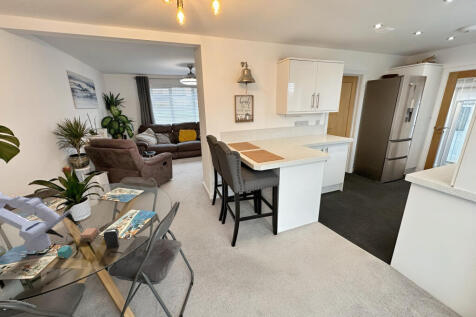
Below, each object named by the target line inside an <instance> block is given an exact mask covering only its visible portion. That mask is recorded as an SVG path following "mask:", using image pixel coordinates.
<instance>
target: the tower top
mask: <svg viewBox="0 0 476 317" xmlns="http://www.w3.org/2000/svg"><path fill="white" fill-rule="evenodd" d="M97 231H98V228H97V227H92V228H85V229H84V231H83V232H82V233H81V234H80V235H79V237H80V238H92V237H93V236H94V235H95V233H96V232H97Z"/></svg>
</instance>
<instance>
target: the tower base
mask: <svg viewBox="0 0 476 317" xmlns="http://www.w3.org/2000/svg"><path fill="white" fill-rule="evenodd" d="M98 233H99V234H100V231H99V230H97V232H96V233H95V235H94V236H93V237H92V238H81V237H80V238H79V239H78V240H79V242H80V243H83V242H84V243H85V242H94V240H95V239H96V238H97V236H98V235H99V234H98Z"/></svg>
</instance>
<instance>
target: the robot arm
mask: <svg viewBox="0 0 476 317" xmlns="http://www.w3.org/2000/svg"><path fill="white" fill-rule="evenodd" d="M6 205H8V206H9V207H10V208H15V209H19V210H22V211H23V212H24V213H26V214H29V215H32V216H35V217H37V218H39V219H40V220H39V219H37V220H29V219H27V218H24V217H22V216H21V215H19V214H17V213H15V212H13V211H10V210H8V209H6V208H4V207H5V206H6ZM72 213H73V211H71V210H70V209H68V210H67V211H65V212H64V213H62V214H61V215H60V214H59V213H57V212H56V211H54V210H53V209H51V208H50V207H48V206H47V205H46V204H45V201H44V200H43V199H42V198H40V197H38V196H35V197H32V198H29V197H24V196H19V195H17V196H14V197H12V196H8V195H4V194H3V193H2V192H1V191H0V221H1V222H3V223H5V224H6V225H9V226H11V227H14V228H15V229H17V230H19V232H18V235H19V237H20V238H22V239H23V240H24V242H23V245H24V248H25V251H26V252H31V251H35V252H37V251H40V250H43V249H45V248H47V247H49V246H50V245H51V243H52V242H51V239H50V236H49V235H52V236H57V237H60V238H61V239H63V238H65V236H64V235H62V234H60V233H59V232H57V231H56V230H54V229H53V228H55V227H56V226H57V225H58V224H60V223H61V222H62V221H63V220H64V219H65V218H66V219H67V220H69V221H71V223H73V224H74V225H75V226H79V224H78V223H77V221H76V220H75V218H74V217H73V215H72Z"/></svg>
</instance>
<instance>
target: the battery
mask: <svg viewBox="0 0 476 317" xmlns="http://www.w3.org/2000/svg"><path fill="white" fill-rule="evenodd" d="M119 233H120V232H119V229H118V228H107V229H106V230H105V231H104V232H103V234H102V235H103V240H104V243H105V247H106V248H107V249H109V248H110V249H113V248H119V247H120V244H121V243H120V239H119V238H120V237H119V235H120V234H119Z"/></svg>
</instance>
